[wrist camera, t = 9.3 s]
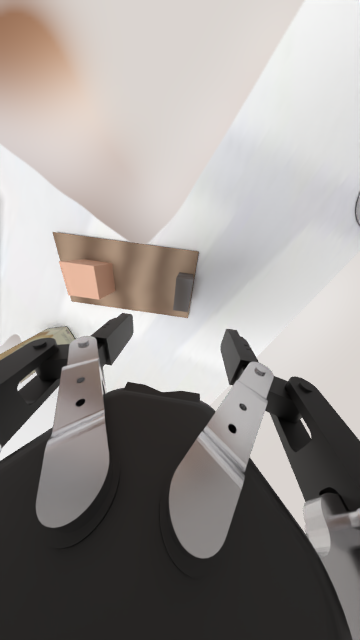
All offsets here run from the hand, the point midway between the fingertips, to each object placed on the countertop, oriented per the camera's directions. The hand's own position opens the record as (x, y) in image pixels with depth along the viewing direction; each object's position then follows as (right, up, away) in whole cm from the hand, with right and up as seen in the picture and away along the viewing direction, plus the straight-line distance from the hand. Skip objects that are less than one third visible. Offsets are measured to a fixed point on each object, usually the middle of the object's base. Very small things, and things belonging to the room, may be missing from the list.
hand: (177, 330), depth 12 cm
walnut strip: (-9, +9, +14) cm, 19 cm away
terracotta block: (-14, +9, +13) cm, 21 cm away
